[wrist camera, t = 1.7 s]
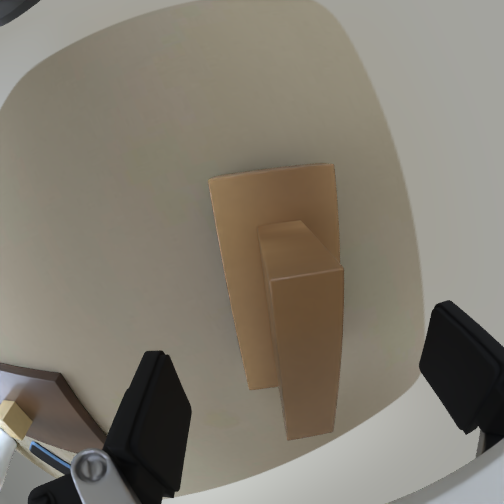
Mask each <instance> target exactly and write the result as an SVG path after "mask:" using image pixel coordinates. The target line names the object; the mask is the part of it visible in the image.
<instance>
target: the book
mask: <svg viewBox="0 0 504 504" xmlns="http://www.w3.org/2000/svg"><path fill="white" fill-rule="evenodd" d="M3 400H8V401H15V402H16V404H17V405H18V406H19V407H20V408H21V409H22V410H23V412H24V413H25V414H26V415H27V416H28V417H29V418H30V419H31V420H32V421H33V422H32V424H31V426H30V427H29V429H28V431H27V433H26V436H28V437H31V438H33V439H36V440H38V441H41V442H43V443H46V444H49V445H52V446H55V447H58V448H61V449H64V450H67V451H70V452H74V453H77V454H78V453H79V452H81V451H82V450H84V449H88V448H97V449H100V450H102V448H103V446H104V443H105V441H106V438H107V436H106V435H105V434H104V432H103V431H102V430H101V429H100V428H99V426H98V425H97V424H96V423H95V421H94V420H93V419H92V418H91V416H90V415H89V414H88V412H87V411H86V410H85V408H84V407H83V406H82V404H81V403H80V402H79V400H78V399H77V397H76V396H75V395H74V393H73V392H72V390H71V389H70V387H69V386H68V384H67V383H66V381H65V380H64V378H63V376H62V375H61V373H55V372H48V371H41V370H34V369H28V368H23V367H17V366H12V365H8V364H3V363H0V405H1V403H2V402H3Z"/></svg>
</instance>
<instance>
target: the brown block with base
mask: <svg viewBox="0 0 504 504" xmlns="http://www.w3.org/2000/svg"><path fill="white" fill-rule="evenodd" d="M208 184H209V190H210V196H211V202H212V208H213V213H214V219H215V225H216V230H217V236H218V241H219V247H220V252H221V258H222V263H223V268H224V273H225V279H226V284H227V289H228V294H229V299H230V304H231V309H232V313H233V318H234V323H235V328H236V333H237V337H238V342H239V347H240V351H241V356H242V360H243V365H244V369H245V374H246V378H247V382H248V387H249V390H255V389H263V388H270V387H277V386H279V391H280V398H281V404H282V410H283V417H284V423H285V429H286V436H287V440H294V439H300V438H306V437H311V436H316V435H321V434H325V433H330V432H333V428H334V421H335V414H336V406H337V397H338V388H339V378H340V366H341V353H342V337H343V313H344V268H343V267H342V265H341V264H340V244H339V221H338V205H337V191H336V180H335V169H334V164H326V163H316V164H305V165H295V166H285V167H277V168H268V169H261V170H253V171H246V172H239V173H232V174H226V175H220V176H214V177H212V178H210V179H209V180H208Z"/></svg>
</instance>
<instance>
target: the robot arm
mask: <svg viewBox="0 0 504 504" xmlns="http://www.w3.org/2000/svg"><path fill="white" fill-rule="evenodd" d="M419 368H420V371H421V373H422V374H423V376H424V377H425V378H426V380H427V381H428V383H429V384H430V386H431V387H432V389H433V390H434V391H435V393H436V394H437V396H438V397H439V399H440V400H441V402H442V403H443V405H444V406H445V408H446V409H447V411H448V412H449V414H450V416H451V417H452V419H453V420H454V422H455V423H456V425H457V426H458V428H459V429H460V430H463V431H464V433H465V434H466V435H467V434H468V433H470V432H472V431H473V430H475V429H476V428H477V427H478V426H479V428H480V429H481V430H480V436H479V442H478V448H477V453H476V458H475V459H474V460H472V461H471V462H469V463H468V464H466V465H465V466H463V467H461V468H460V469H458V470H456V471H455V472H453V473H451V474H449V475H447V476H446V477H444V478H442V479H440V480H438V481H436V482H434V483H433V484H430V485H428V486H426V487H424V488H422V489H420V490H418V491H416V492H413V493H411V494H409V495H407V496H404V497H402V498H399V499H397V500H394V501H392V502H389V503H386V504H504V347H503V346H501V344H500V343H499V342H497V341H496V340H495V339H494V338H493V337H492V336H491V335H490V334H489V333H488V332H487V331H486V330H484V329H483V328H482V327H481V326H480V325H479V324H478V323H476V322H475V321H474V320H473V319H472V318H470V316H468V315H467V314H466V313H465V312H464V311H463V310H461V309H460V308H459V307H458V306H457V305H455V304H454V303H453V302H452V301H450V300H448V301H444V302H442V303H438V304H436V306H435V307H434V309H433V310H432V313H431V318H430V322H429V327H428V331H427V336H426V340H425V344H424V348H423V352H422V355H421V359H420V362H419ZM191 414H192V410H191V405H190V403H189V401H188V399H187V396H186V394H185V392H184V390H183V387H182V385H181V383H180V380H179V378H178V375H177V373H176V371H175V368H174V366H173V363H172V361H171V358H170V356H169V355H165V354H164V352H163V351H146V352H145V353H144V355H143V358H142V360H141V362H140V364H139V366H138V369H137V371H136V373H135V375H134V378H133V380H132V382H131V385H130V387H129V388H128V389H127V391H126V392H125V394H124V397H123V399H122V401H121V404H120V406H119V408H118V411H117V413H116V416H115V418H114V420H113V423H112V425H111V428H110V430H109V433H108V435H107V438H106V441H105V443H104V446H103V448H102V450H100V449H97V448H88V449H84V450H82V451H81V452H79V453H78V454H77V455H76V456H75V457H74V458H73V460H72V462H71V467H70V470H71V473H69V474H66V475H64V476H62V477H60V478H57V479H55V480H53V481H50V482H48V483H45V484H43V485H40V486H38V487H36V488H34V489H33V490H32V491H31V492H30V495H29V497H28V504H161V501H162V497H169V498H174V493H175V492H178V491H179V489H180V484H181V477H182V470H183V464H184V457H185V451H186V444H187V438H188V432H189V426H190V420H191Z"/></svg>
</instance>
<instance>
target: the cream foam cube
mask: <svg viewBox="0 0 504 504" xmlns="http://www.w3.org/2000/svg"><path fill="white" fill-rule="evenodd" d="M32 422H33V421H32V420H31V419H30V418H29V417H28V416H27V415H26V414H25V413H24V412H23V410H22V409H21V408H20V407H19V406H18V405H17V404H16V402H15V401H8V400H3V402H2V403H1V405H0V426H1V427H2V428H3V429H4V430H5V432H6V433H7V434H8V435H9V436H10V437H13V438H16V439H19V440H23V439H24V437H25V435H26V433H27V431H28V429H29V427H30V426H31V424H32Z"/></svg>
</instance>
